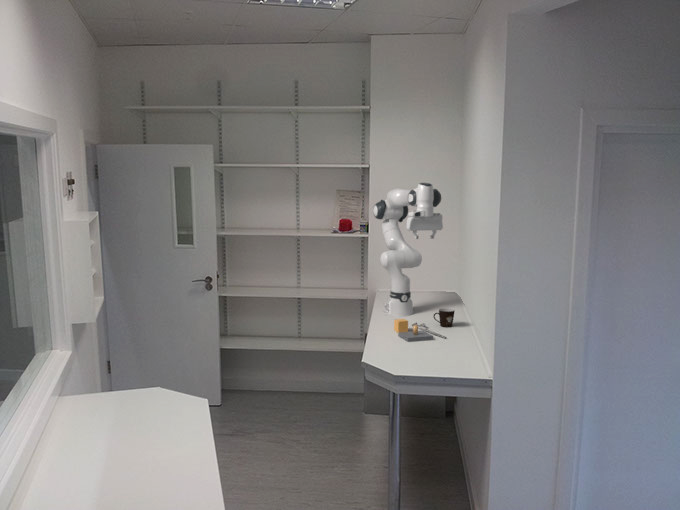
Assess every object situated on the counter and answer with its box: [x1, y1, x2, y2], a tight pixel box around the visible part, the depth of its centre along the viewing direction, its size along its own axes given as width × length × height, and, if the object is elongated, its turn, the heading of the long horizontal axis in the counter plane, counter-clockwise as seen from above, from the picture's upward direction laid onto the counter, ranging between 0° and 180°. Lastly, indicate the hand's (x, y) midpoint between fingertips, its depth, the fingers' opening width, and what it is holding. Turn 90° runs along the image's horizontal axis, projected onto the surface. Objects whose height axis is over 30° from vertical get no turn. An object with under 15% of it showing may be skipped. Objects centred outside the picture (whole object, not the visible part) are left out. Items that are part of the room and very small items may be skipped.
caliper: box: [411, 321, 447, 340], centre depth 314 cm, size 29×2×5 cm
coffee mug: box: [433, 307, 455, 328], centre depth 325 cm, size 12×9×10 cm
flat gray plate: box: [397, 324, 434, 343], centre depth 301 cm, size 12×14×6 cm
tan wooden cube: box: [393, 318, 409, 333], centre depth 316 cm, size 6×6×6 cm
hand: (424, 238), depth 318 cm, fingers open, 8 cm apart
